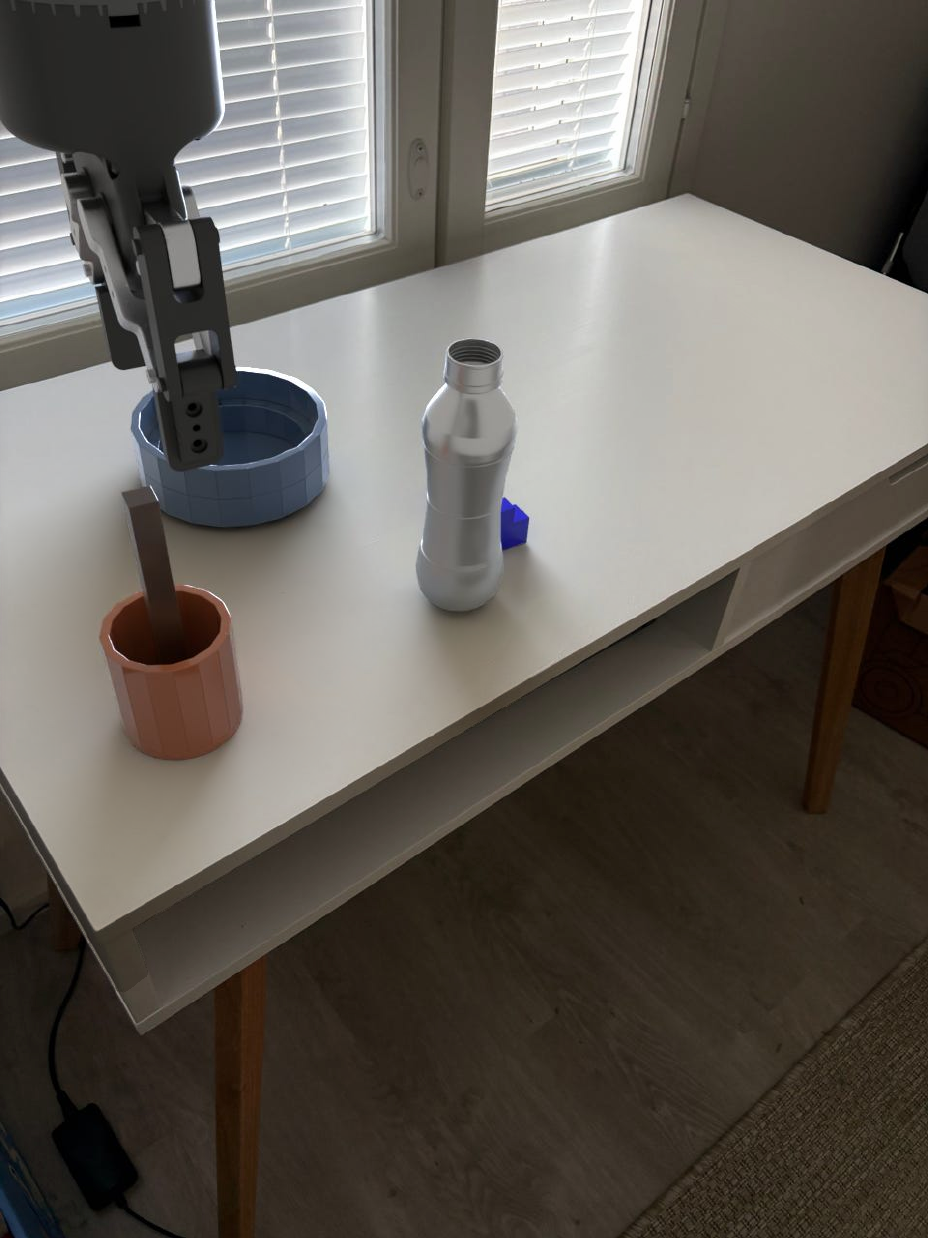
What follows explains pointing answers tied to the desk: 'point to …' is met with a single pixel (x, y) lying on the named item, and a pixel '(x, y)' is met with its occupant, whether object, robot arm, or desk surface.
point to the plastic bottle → (466, 478)
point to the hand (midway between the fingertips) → (164, 410)
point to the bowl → (243, 454)
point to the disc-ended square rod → (155, 574)
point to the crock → (174, 677)
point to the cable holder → (513, 525)
